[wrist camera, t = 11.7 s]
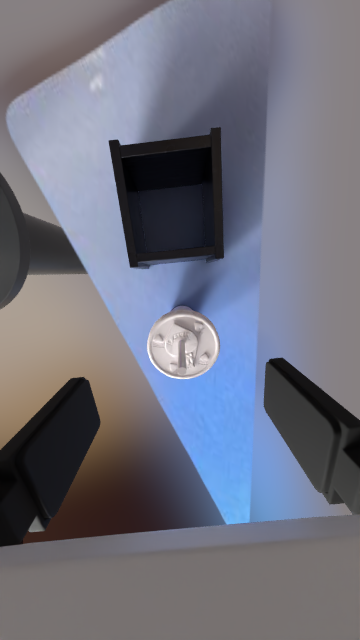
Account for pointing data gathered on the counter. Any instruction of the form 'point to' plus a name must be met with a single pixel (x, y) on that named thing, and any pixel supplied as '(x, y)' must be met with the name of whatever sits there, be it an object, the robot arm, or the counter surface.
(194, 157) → the bottle stand
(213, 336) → the smoothie
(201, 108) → the counter surface
